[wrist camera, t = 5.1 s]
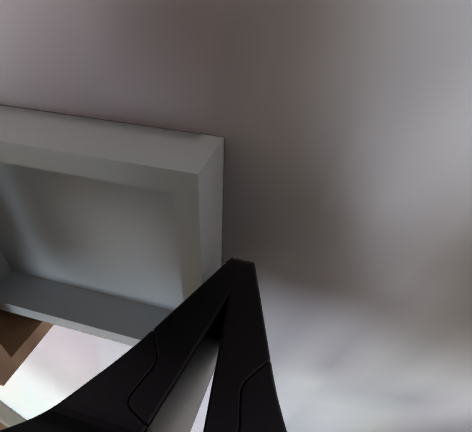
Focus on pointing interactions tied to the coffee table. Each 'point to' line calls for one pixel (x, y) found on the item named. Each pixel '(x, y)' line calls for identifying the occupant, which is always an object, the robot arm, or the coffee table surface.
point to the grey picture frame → (9, 417)
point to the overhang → (18, 341)
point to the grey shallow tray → (105, 220)
